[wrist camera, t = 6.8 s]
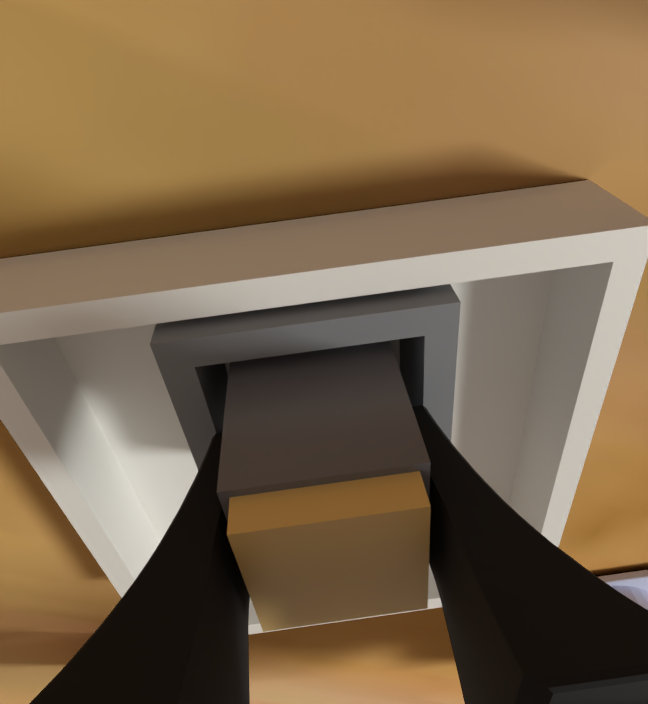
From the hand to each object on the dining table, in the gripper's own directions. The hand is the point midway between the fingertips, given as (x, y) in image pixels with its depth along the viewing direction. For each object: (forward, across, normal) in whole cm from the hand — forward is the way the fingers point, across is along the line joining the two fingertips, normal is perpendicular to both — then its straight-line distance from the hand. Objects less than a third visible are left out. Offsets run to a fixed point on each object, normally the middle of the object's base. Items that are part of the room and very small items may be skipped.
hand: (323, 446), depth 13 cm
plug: (+2, 0, 0) cm, 2 cm away
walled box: (+4, 0, +4) cm, 5 cm away
